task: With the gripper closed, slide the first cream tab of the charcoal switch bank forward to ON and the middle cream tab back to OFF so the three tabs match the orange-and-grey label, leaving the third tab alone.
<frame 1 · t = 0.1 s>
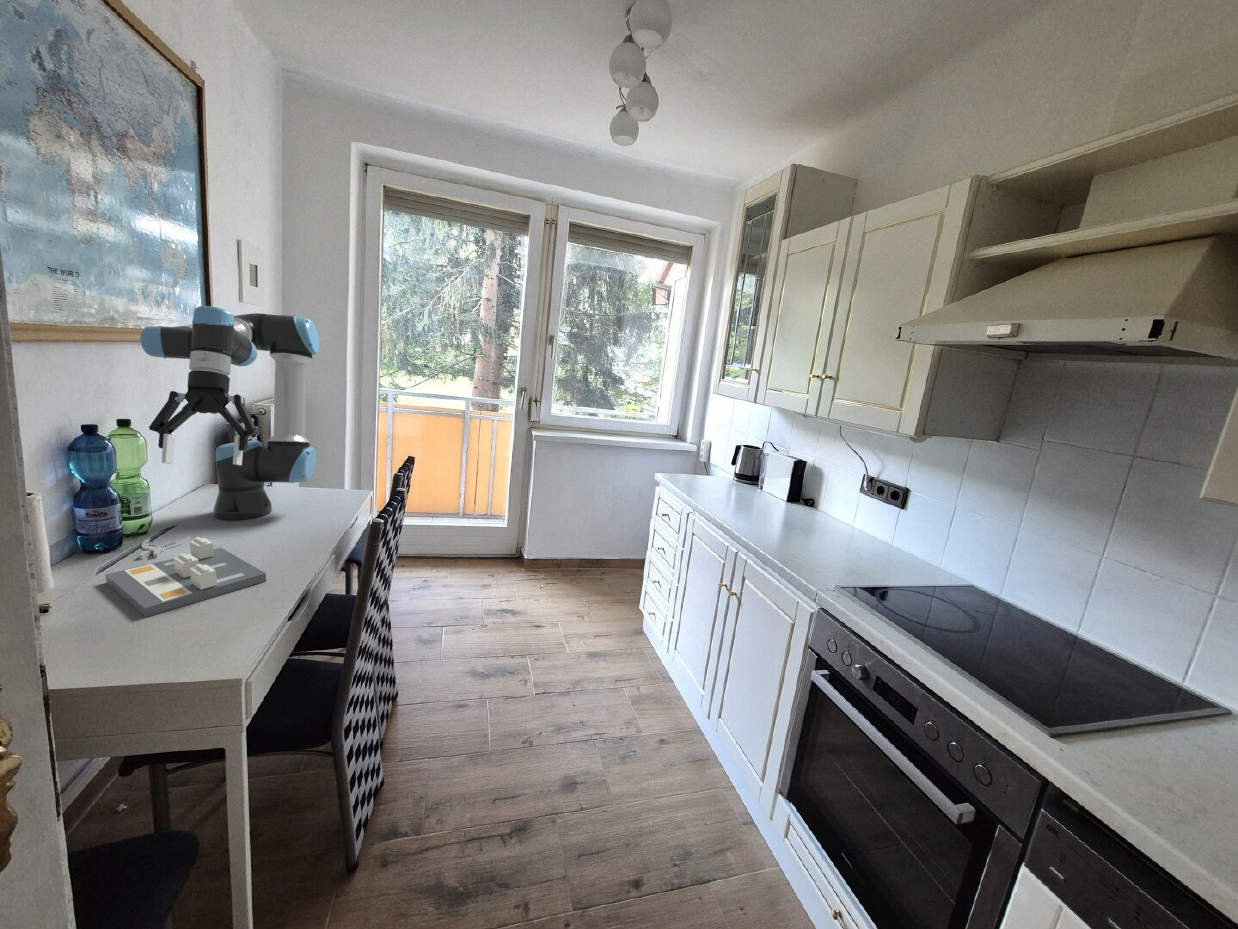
hand: (202, 464, 116), 28 cm above the table, tool tilted 20°, fingers open, 13 cm apart
pliers: (159, 550, 134), on the table
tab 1: (201, 547, 126), point 4 cm above the table, slide at 0.0 cm
tab 3: (203, 575, 112), point 4 cm above the table, slide at 6.0 cm
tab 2: (186, 564, 117), point 4 cm above the table, slide at 6.0 cm
switch bank: (188, 581, 118), on the table
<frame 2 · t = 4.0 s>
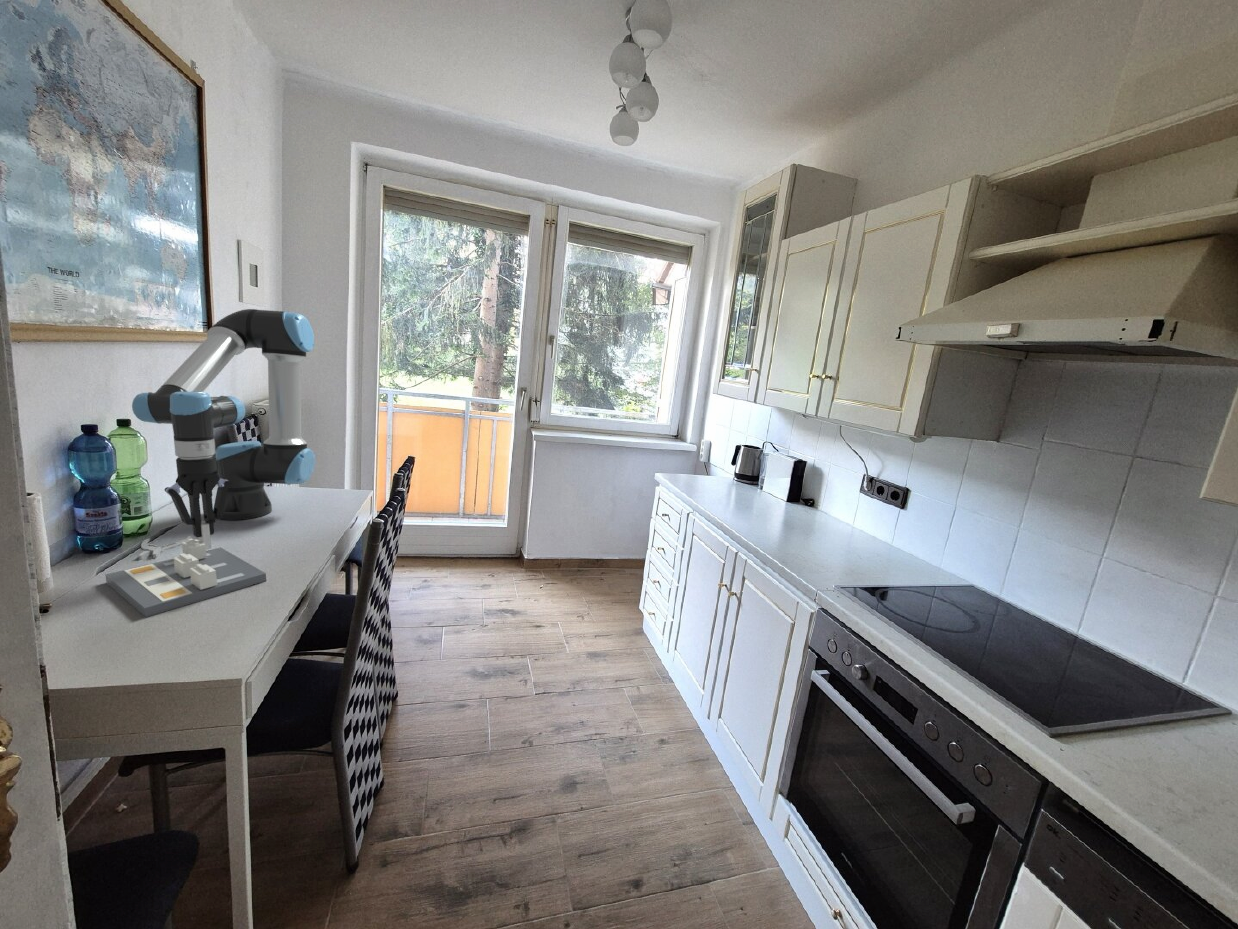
hand: (205, 547, 127), 4 cm above the table, tool pointing down, fingers closed
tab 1: (194, 548, 125), point 4 cm above the table, slide at 1.5 cm, touching gripper
everything else where it was.
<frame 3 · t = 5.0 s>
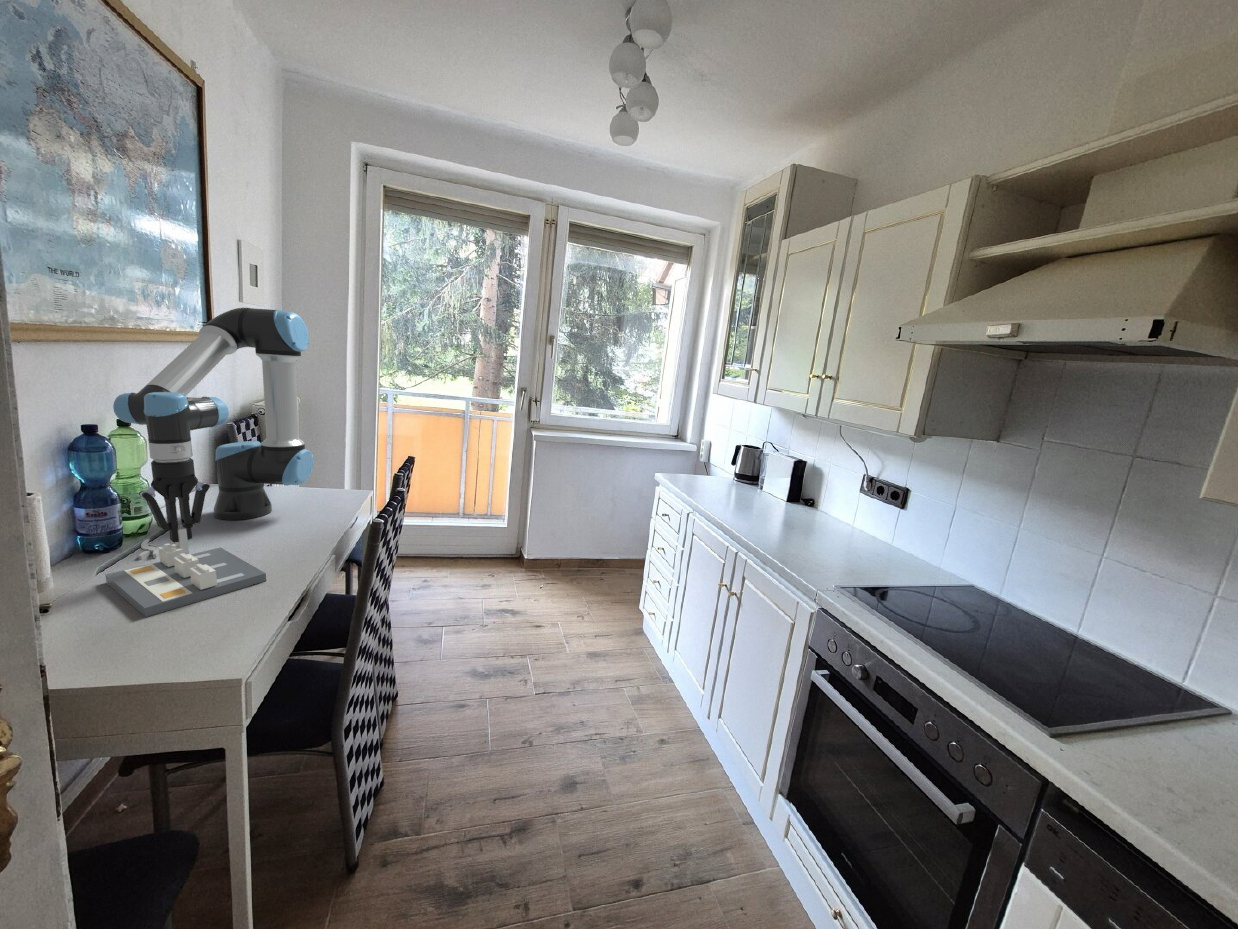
hand: (183, 553, 123), 4 cm above the table, tool pointing down, fingers closed
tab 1: (171, 554, 121), point 4 cm above the table, slide at 6.0 cm, touching gripper
everything else where it was.
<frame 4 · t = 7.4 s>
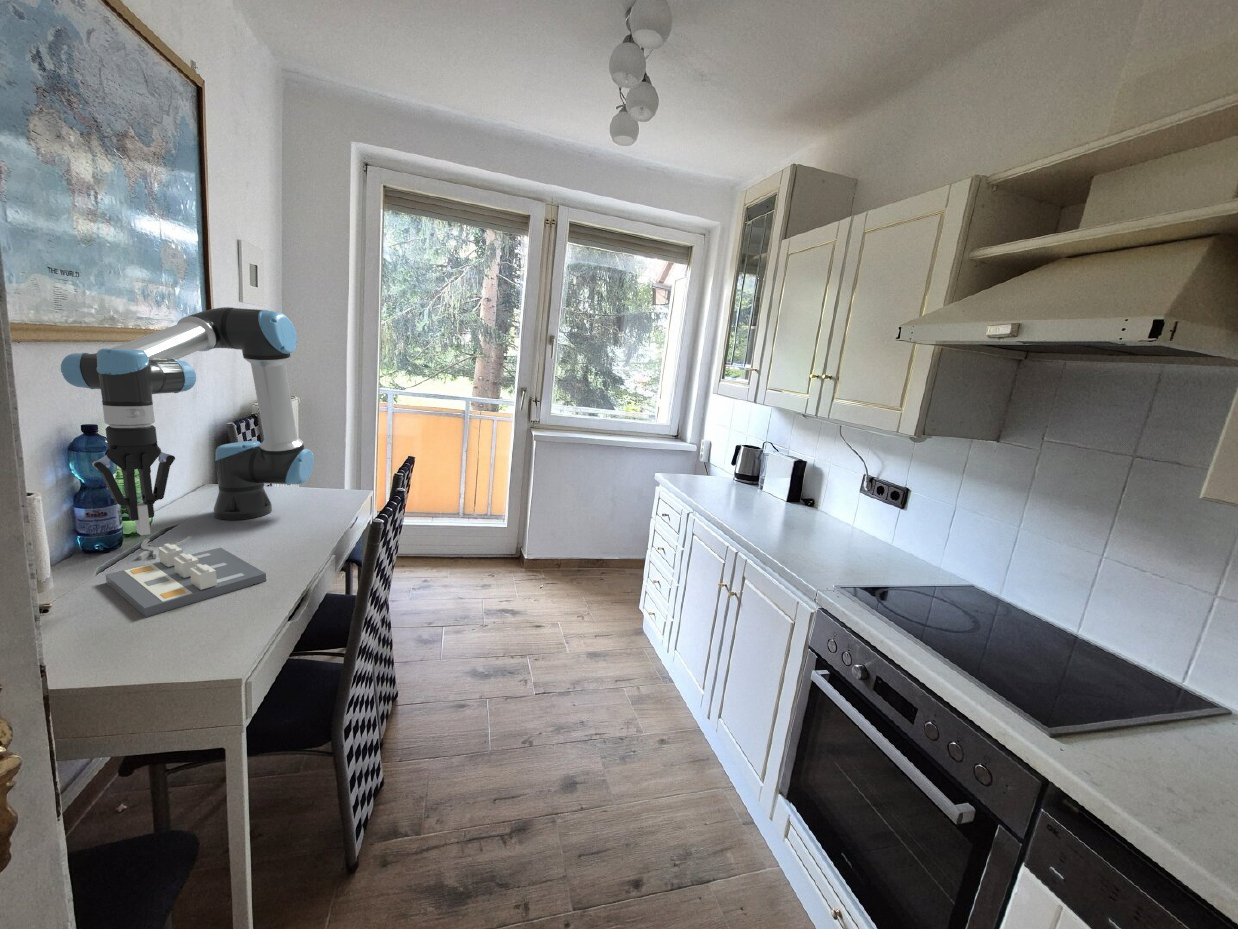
hand: (143, 533, 109), 14 cm above the table, tool pointing down, fingers closed
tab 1: (170, 554, 121), point 4 cm above the table, slide at 6.1 cm
everything else where it was.
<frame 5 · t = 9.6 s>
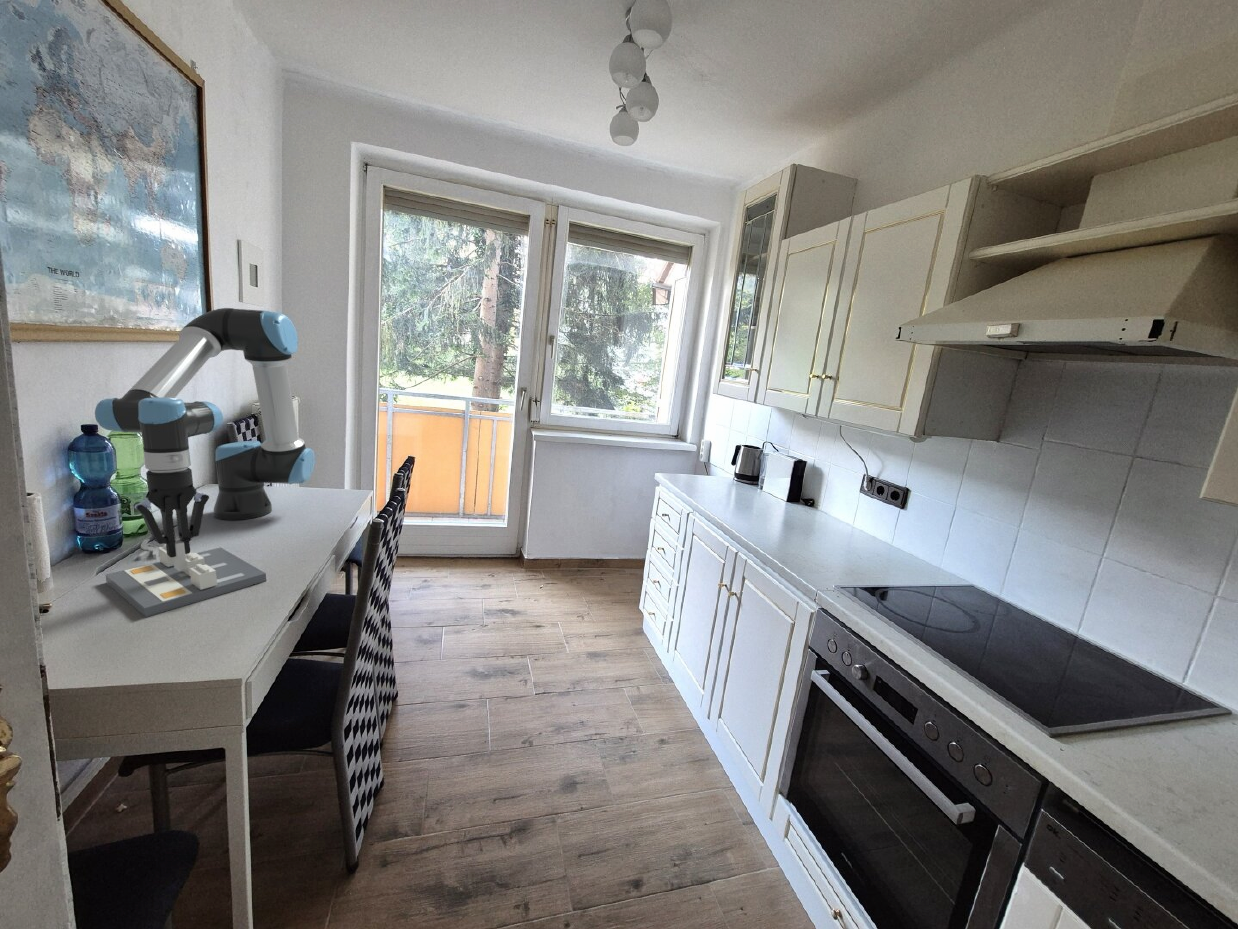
hand: (180, 568, 116), 4 cm above the table, tool pointing down, fingers closed
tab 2: (192, 563, 118), point 4 cm above the table, slide at 4.9 cm, touching gripper
everything else where it was.
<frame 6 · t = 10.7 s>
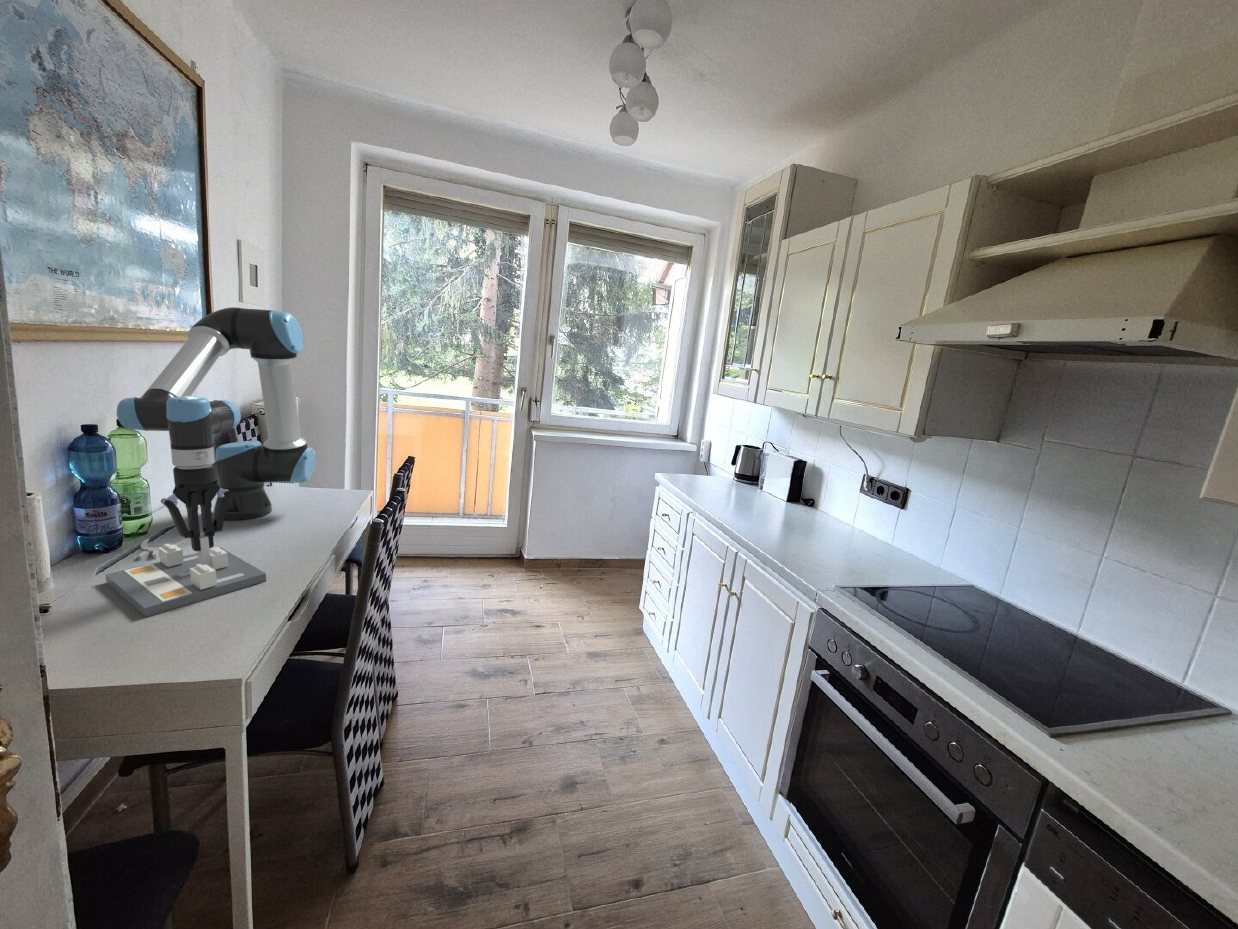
hand: (204, 561, 120), 4 cm above the table, tool pointing down, fingers closed
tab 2: (215, 557, 122), point 4 cm above the table, slide at 0.4 cm, touching gripper
everything else where it was.
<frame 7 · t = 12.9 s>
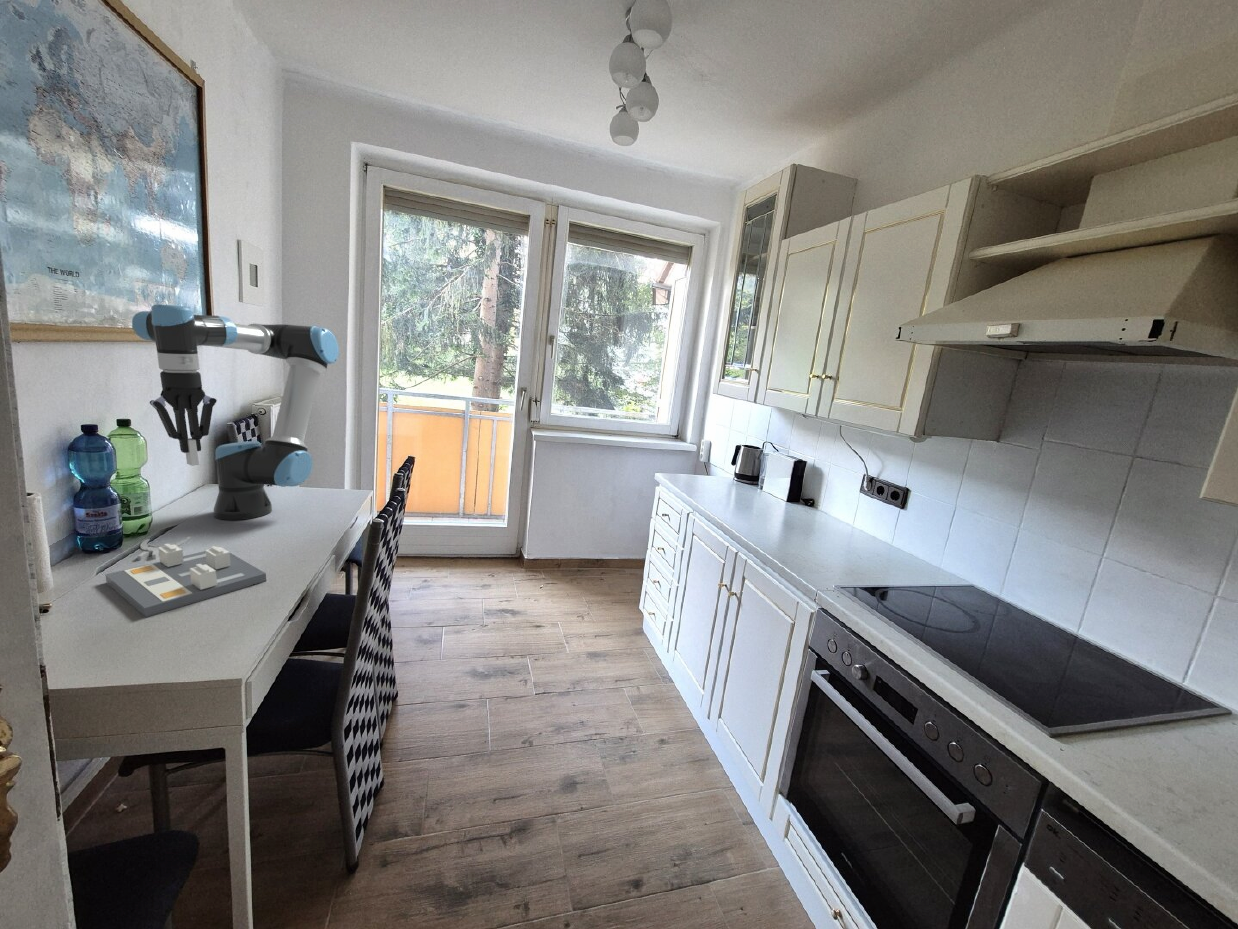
hand: (193, 464, 129), 24 cm above the table, tool pointing down, fingers closed
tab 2: (217, 556, 122), point 4 cm above the table, slide at -0.1 cm
everything else where it was.
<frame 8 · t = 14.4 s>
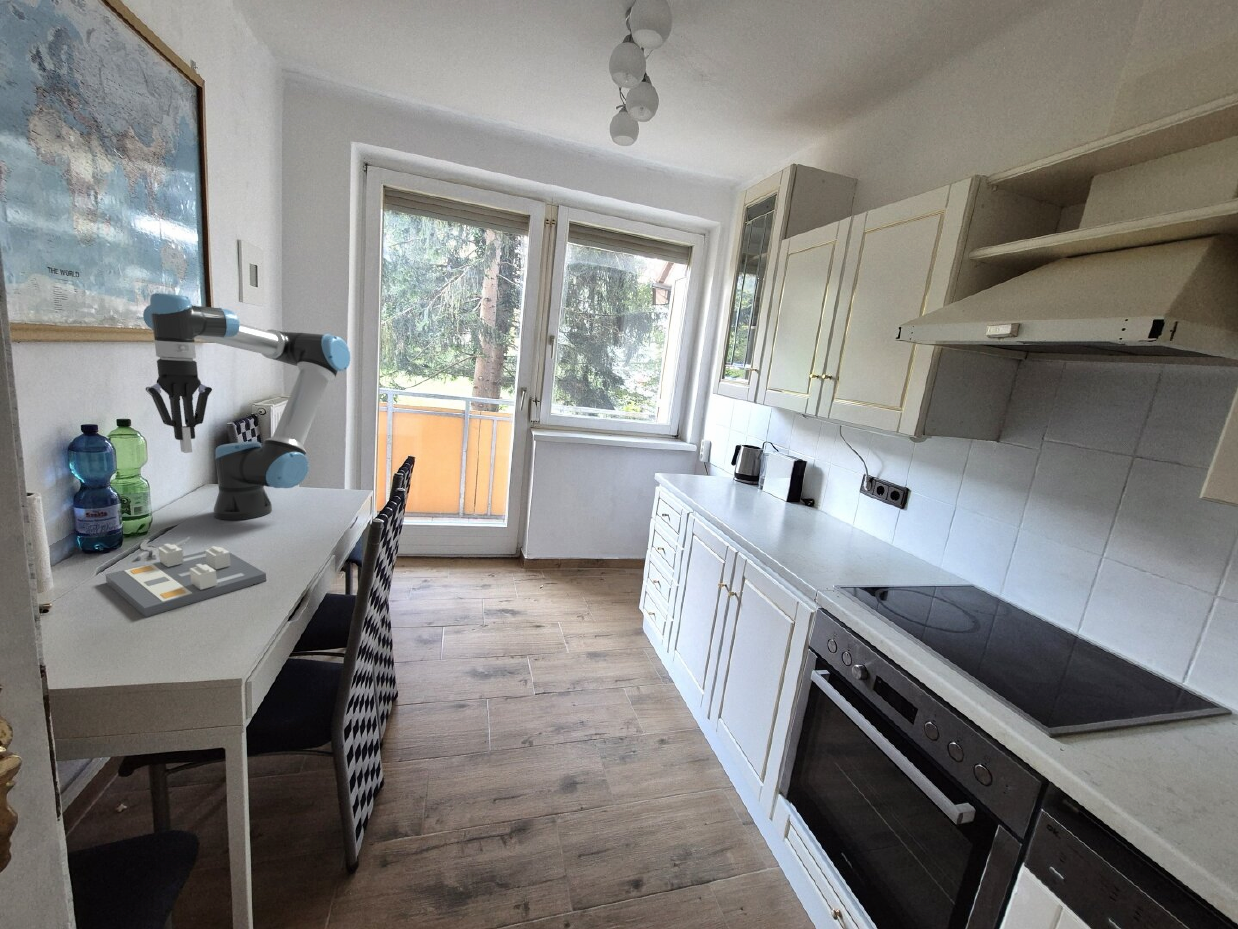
hand: (186, 451, 131), 26 cm above the table, tool pointing down, fingers closed
nothing on the table moved.
at the end: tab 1 slide at 6.1 cm; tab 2 slide at -0.1 cm; tab 3 slide at 6.0 cm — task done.
